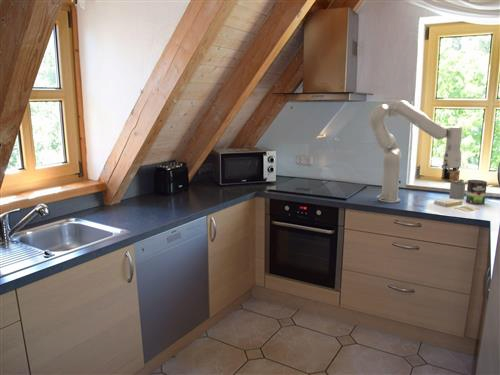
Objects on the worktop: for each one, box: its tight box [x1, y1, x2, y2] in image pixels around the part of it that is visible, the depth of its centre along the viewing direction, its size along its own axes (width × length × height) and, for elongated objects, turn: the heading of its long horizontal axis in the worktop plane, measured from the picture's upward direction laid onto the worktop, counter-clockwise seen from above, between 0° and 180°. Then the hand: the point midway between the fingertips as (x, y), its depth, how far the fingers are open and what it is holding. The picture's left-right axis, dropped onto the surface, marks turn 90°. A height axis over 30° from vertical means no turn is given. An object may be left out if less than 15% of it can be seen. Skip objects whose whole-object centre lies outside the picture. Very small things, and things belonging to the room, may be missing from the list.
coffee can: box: [465, 179, 488, 205], centre depth 256 cm, size 10×10×14 cm
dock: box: [433, 197, 463, 208], centre depth 254 cm, size 13×9×3 cm
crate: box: [441, 168, 461, 183], centre depth 250 cm, size 6×7×6 cm
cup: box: [448, 181, 466, 200], centre depth 269 cm, size 8×8×10 cm
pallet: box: [454, 205, 480, 213], centre depth 243 cm, size 11×9×1 cm
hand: (450, 178), depth 251 cm, fingers closed on crate, 6 cm apart
